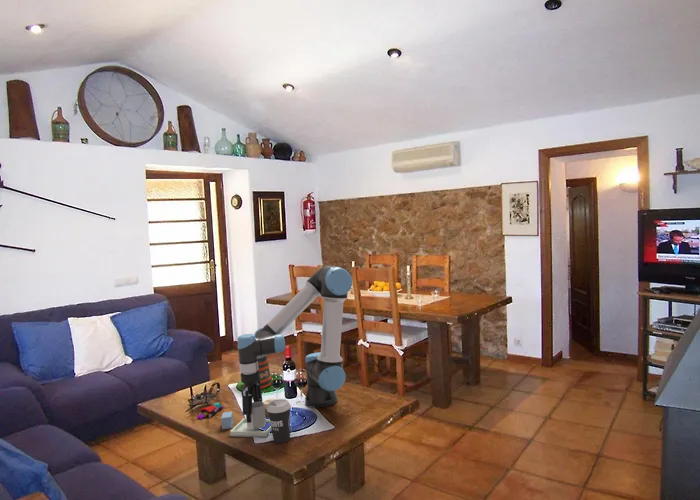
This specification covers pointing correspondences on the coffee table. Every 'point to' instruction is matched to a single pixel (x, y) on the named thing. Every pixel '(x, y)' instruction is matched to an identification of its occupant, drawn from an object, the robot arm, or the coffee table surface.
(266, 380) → the beer stein
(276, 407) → the coffee cup
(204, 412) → the toy
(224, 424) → the blue painted block
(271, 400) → the beech block
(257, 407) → the cup
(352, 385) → the coffee table surface
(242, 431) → the tray
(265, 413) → the walnut block
